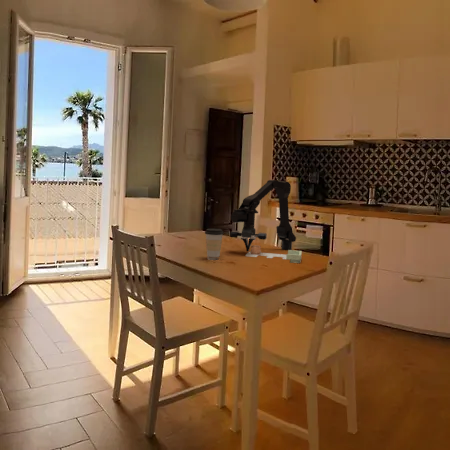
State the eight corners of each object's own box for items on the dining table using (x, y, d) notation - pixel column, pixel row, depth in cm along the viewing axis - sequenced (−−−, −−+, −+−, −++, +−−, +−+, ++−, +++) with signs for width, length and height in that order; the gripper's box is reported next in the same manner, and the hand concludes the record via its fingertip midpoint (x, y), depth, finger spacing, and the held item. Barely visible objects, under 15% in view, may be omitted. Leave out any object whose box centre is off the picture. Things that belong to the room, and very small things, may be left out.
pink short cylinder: (251, 252, 247) (251, 245, 247) (260, 253, 246) (261, 245, 246) (250, 254, 242) (250, 246, 242) (259, 254, 241) (260, 247, 241)
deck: (248, 254, 249) (248, 247, 249) (301, 258, 244) (301, 251, 243) (244, 258, 236) (245, 251, 236) (300, 263, 231) (300, 255, 231)
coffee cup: (206, 261, 227) (207, 230, 225) (202, 257, 236) (203, 228, 234) (224, 260, 230) (226, 230, 228) (220, 257, 239) (221, 228, 237)
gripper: (228, 222, 237) (227, 252, 239) (265, 224, 233) (263, 255, 235) (232, 220, 248) (231, 248, 250) (267, 222, 244) (265, 251, 246)
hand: (247, 251), depth 245 cm, fingers closed
